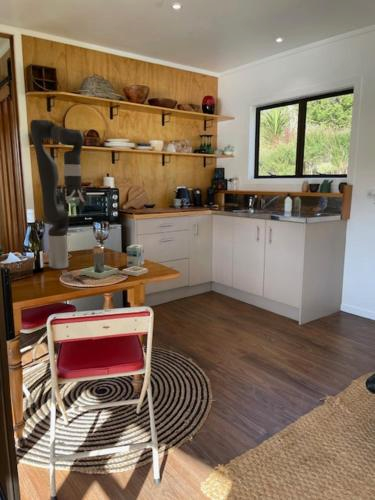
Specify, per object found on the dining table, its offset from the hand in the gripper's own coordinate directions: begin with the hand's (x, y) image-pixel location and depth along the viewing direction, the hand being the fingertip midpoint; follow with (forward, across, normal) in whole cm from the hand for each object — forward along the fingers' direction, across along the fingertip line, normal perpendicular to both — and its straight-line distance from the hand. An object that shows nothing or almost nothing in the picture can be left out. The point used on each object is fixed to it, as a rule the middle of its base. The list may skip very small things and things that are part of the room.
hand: (74, 210), depth 174 cm
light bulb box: (+32, -37, +6) cm, 49 cm away
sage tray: (+32, -11, +4) cm, 34 cm away
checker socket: (+32, -23, +17) cm, 43 cm away
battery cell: (+31, -11, +4) cm, 33 cm away
